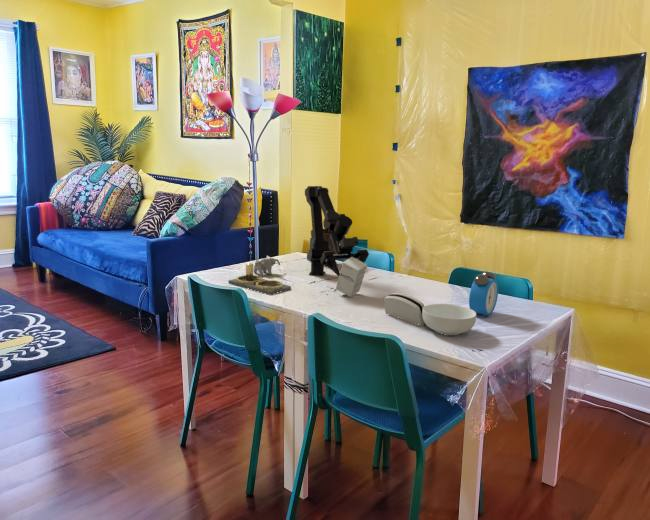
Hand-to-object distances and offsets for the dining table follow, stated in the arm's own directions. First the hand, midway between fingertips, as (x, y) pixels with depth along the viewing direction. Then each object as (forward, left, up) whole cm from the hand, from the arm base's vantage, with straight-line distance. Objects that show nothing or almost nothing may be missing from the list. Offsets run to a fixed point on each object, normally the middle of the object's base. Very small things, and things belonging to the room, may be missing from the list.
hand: (350, 274), depth 214 cm
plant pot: (-53, -18, -9) cm, 57 cm away
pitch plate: (-4, -37, -8) cm, 39 cm away
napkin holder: (+24, +22, -9) cm, 34 cm away
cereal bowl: (+33, +36, -9) cm, 49 cm away
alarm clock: (+11, +49, -9) cm, 51 cm away
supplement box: (-2, -1, -7) cm, 7 cm away
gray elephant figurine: (-26, -40, -9) cm, 49 cm away
